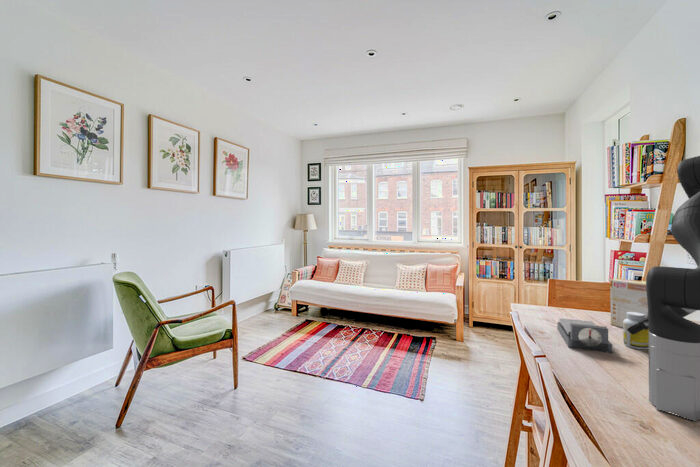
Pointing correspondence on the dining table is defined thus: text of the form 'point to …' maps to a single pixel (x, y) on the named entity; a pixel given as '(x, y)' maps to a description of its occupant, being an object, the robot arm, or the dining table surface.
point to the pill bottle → (638, 339)
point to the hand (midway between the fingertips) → (631, 328)
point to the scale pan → (566, 323)
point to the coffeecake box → (627, 299)
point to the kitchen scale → (586, 337)
